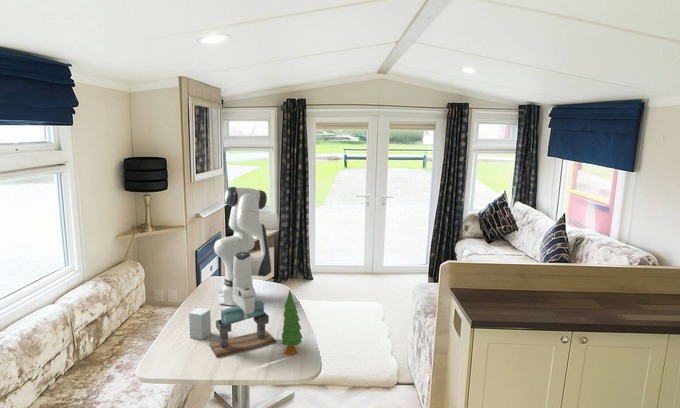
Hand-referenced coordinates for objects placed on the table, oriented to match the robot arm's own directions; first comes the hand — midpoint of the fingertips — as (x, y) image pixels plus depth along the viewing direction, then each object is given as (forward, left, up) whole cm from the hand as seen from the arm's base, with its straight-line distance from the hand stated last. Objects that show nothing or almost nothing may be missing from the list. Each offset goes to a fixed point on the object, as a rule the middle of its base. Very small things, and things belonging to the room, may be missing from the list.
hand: (243, 316), depth 193 cm
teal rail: (0, 0, -1) cm, 1 cm away
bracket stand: (0, 0, -14) cm, 14 cm away
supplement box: (-19, -15, -14) cm, 28 cm away
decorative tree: (+18, +17, -14) cm, 28 cm away
